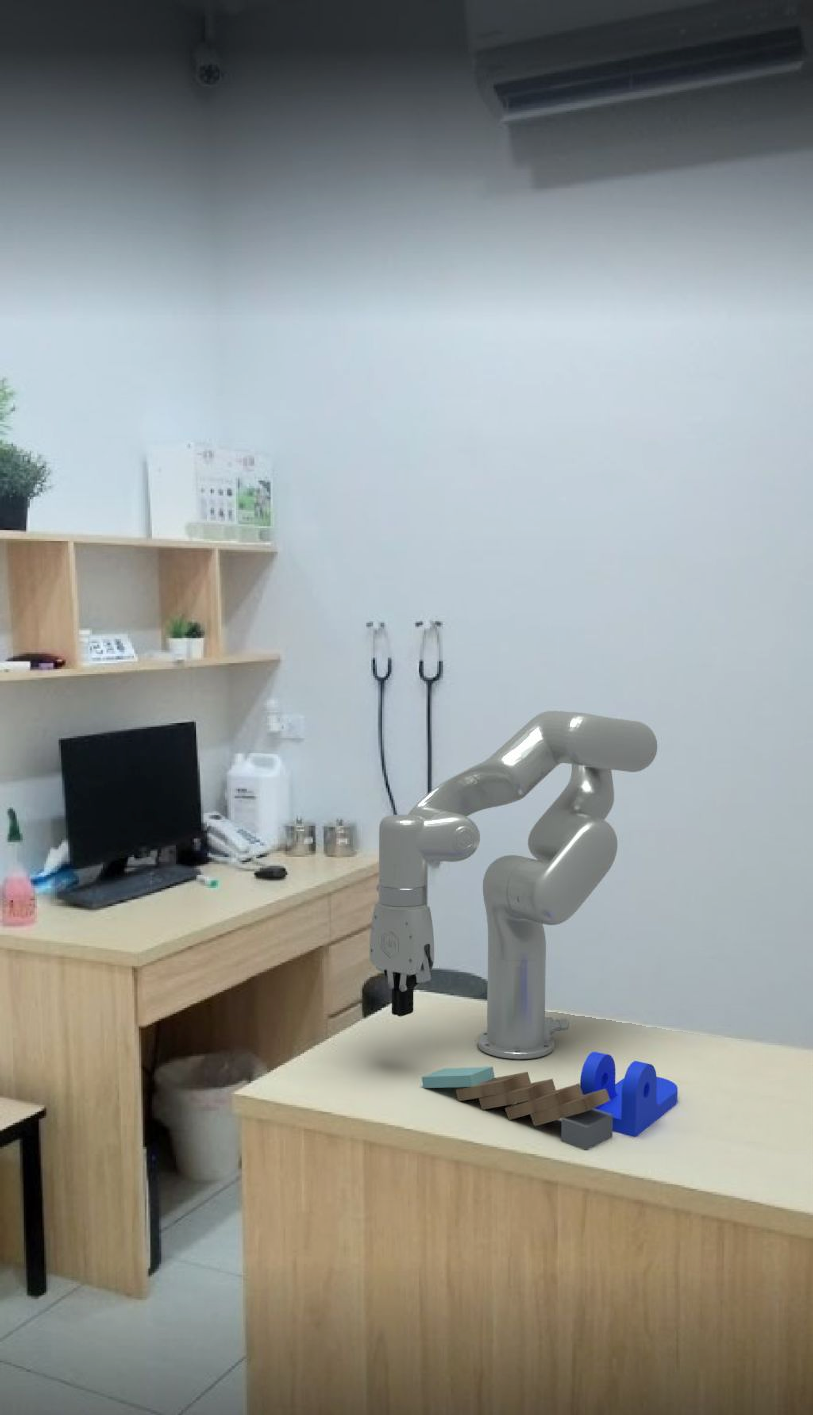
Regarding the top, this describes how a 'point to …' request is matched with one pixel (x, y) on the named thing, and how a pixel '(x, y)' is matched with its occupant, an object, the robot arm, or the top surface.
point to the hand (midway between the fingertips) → (402, 1013)
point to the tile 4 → (544, 1102)
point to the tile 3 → (519, 1094)
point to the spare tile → (458, 1077)
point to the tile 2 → (494, 1086)
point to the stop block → (587, 1128)
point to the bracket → (628, 1093)
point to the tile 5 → (571, 1107)
